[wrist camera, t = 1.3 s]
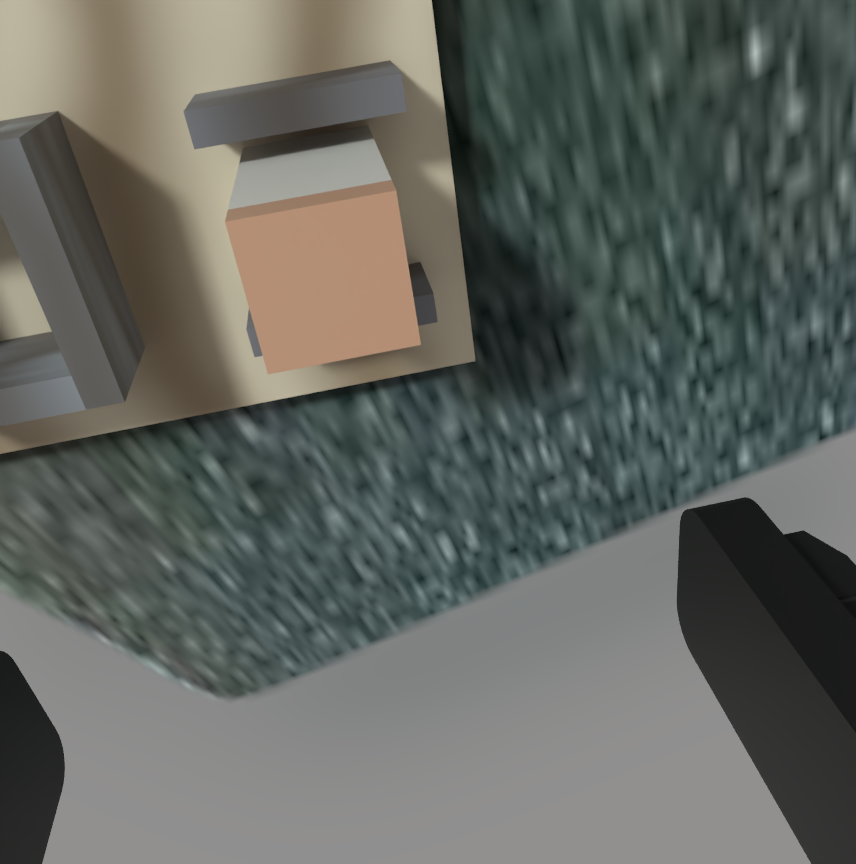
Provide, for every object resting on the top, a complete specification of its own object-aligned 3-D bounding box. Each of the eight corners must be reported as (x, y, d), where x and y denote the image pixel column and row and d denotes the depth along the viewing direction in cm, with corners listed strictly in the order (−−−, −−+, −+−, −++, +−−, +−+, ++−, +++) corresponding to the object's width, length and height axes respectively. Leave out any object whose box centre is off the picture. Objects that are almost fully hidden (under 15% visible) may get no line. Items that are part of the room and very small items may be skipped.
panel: (415, -72, 24) (445, -77, 19) (467, 344, 31) (498, 413, 27) (-265, 42, 23) (-407, 65, 18) (-43, 443, 30) (-103, 533, 26)
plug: (368, 125, 25) (396, 190, 18) (388, 246, 27) (421, 344, 20) (242, 148, 25) (224, 221, 18) (273, 268, 27) (268, 374, 20)
